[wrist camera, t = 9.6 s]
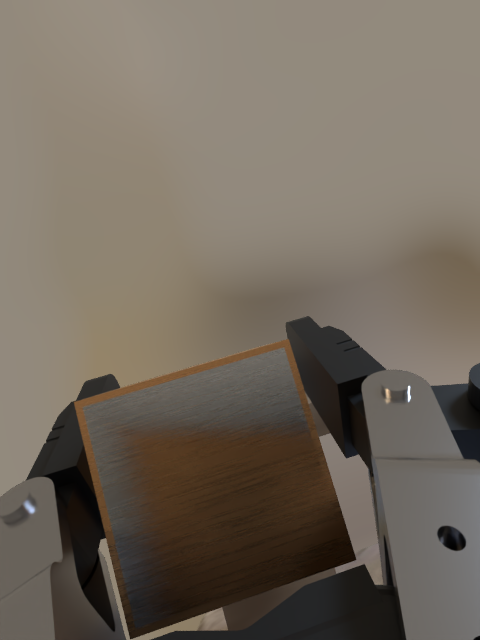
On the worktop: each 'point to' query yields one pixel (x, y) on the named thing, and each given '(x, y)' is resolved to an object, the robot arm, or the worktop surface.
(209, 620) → the worktop surface
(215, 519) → the grey and tan bar
